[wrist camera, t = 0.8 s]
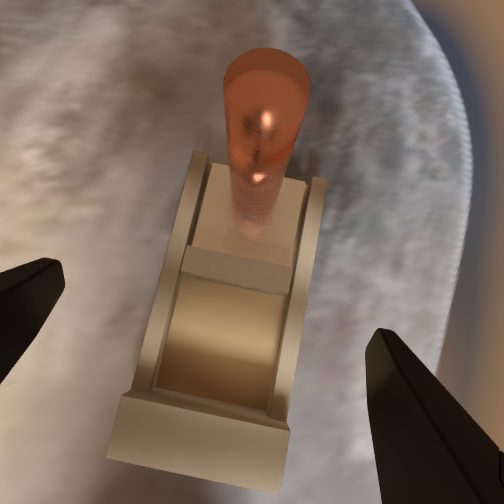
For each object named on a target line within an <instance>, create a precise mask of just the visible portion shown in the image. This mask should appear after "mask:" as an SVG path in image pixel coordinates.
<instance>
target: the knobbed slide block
mask: <svg viewBox="0 0 504 504" xmlns="http://www.w3.org/2000/svg"><path fill="white" fill-rule="evenodd" d="M223 89H224V102H225V116H226V130H227V143H228V157H229V166H228V165H223V164H218V163H214V162H213V163H212V167H211V171H210V175H209V179H208V183H207V187H206V191H205V195H204V199H203V203H202V207H201V211H200V215H199V219H198V223H197V227H196V231H195V235H194V239H193V244H192V246H188V245H187V247H186V251H185V255H184V259H183V263H182V267H181V272H183V273H184V274H185V275H187V276H188V277H193V278H198V279H203V280H207V281H212V282H217V283H222V284H227V285H231V286H236V287H241V288H246V289H250V290H255V291H260V292H265V293H269V294H274V295H279V296H284V295H286V294H288V292H289V287H290V281H291V276H292V270H293V267H290V264H291V258H292V253H293V248H294V242H295V237H296V231H297V226H298V220H299V215H300V210H301V204H302V199H303V193H304V188H305V183H306V182H305V181H300V180H295V179H290V178H286V177H284V176H285V173H286V170H287V166H288V163H289V160H290V157H291V154H292V151H293V148H294V144H295V141H296V138H297V135H298V132H299V129H300V126H301V122H302V119H303V116H304V113H305V110H306V107H307V104H308V100H309V97H310V91H311V84H310V79H309V76H308V74H307V72H306V70H305V68H304V67H303V65H302V64H301V63H300V62H299V61H298V60H297V59H296V58H294V57H293V56H291V55H290V54H288V53H286V52H283V51H281V50H277V49H272V48H259V49H254V50H250V51H248V52H245V53H243V54H242V55H240V56H239V57H237V58H236V59H235V60H234V61H233V62H232V63H231V64H230V66H229V67H228V69H227V71H226V74H225V77H224V82H223Z"/></svg>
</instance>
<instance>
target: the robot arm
mask: <svg viewBox="0 0 504 504" xmlns="http://www.w3.org/2000/svg"><path fill="white" fill-rule="evenodd" d="M64 288H65V279H64V274H63V269H62V264H61V262H60V261H59V260H56V259H51V258H40V259H38V260H35V261H32V262H29V263H26V264H23V265H21V266H18V267H15V268H12V269H9V270H6V271H4V272H1V273H0V384H1V383H2V381H3V380H4V379H5V377H6V376H7V375H8V373H9V372H10V371H11V369H12V368H13V367H14V365H15V364H16V363H17V361H18V360H19V359H20V357H21V356H22V355H23V353H24V352H25V351H26V349H27V348H28V347H29V345H30V344H31V343H32V341H33V340H34V338H35V337H36V336H37V334H38V332H39V331H40V329H41V328H42V326H43V324H44V323H45V321H46V319H47V318H48V316H49V314H50V313H51V311H52V309H53V308H54V306H55V304H56V302H57V301H58V299H59V297H60V296H61V294H62V292H63V290H64ZM365 363H366V388H367V407H368V415H369V421H370V428H371V434H372V441H373V447H374V454H375V460H376V467H377V473H378V480H379V486H380V493H381V499H382V504H504V452H502V451H500V450H499V447H498V446H497V445H496V444H495V443H494V441H492V439H491V438H490V437H489V436H488V435H487V434H486V433H485V432H484V430H483V429H482V428H481V427H480V426H479V425H478V424H477V423H476V422H475V421H474V419H473V418H472V417H471V416H470V415H469V414H468V413H467V412H466V410H465V409H464V408H463V407H462V406H461V405H460V404H459V403H458V402H457V400H456V399H454V397H453V396H452V395H451V394H450V393H449V392H448V391H447V389H446V388H445V387H444V386H443V385H442V384H441V383H440V382H439V381H438V380H437V378H436V377H435V376H434V375H433V374H432V373H431V372H430V371H429V369H428V368H427V367H426V366H425V365H424V364H423V363H422V362H421V361H420V359H419V358H418V357H417V356H416V355H415V354H414V353H413V352H412V351H411V349H410V348H409V347H408V346H407V345H406V344H405V343H404V342H403V341H402V340H401V338H400V337H399V336H398V335H397V334H396V333H395V332H394V331H392V330H389V329H384V328H378V329H377V330H376V331H375V332H374V334H373V336H372V338H371V340H370V341H369V343H368V345H367V347H366V351H365Z"/></svg>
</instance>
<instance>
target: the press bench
mask: <svg viewBox="0 0 504 504" xmlns="http://www.w3.org/2000/svg"><path fill="white" fill-rule="evenodd" d="M211 167H212V165H210V160H209V155H208V154H205V153H200V152H196V151H193V155H192V159H191V163H190V166H189V170H188V174H187V178H186V182H185V185H184V189H183V193H182V197H181V201H180V204H179V208H178V212H177V216H176V220H175V223H174V227H173V231H172V235H171V239H170V242H169V246H168V250H167V254H166V258H165V261H164V265H163V269H162V273H161V277H160V280H159V284H158V288H157V292H156V296H155V299H154V303H153V307H152V311H151V315H150V318H149V322H148V326H147V330H146V334H145V337H144V341H143V345H142V349H141V353H140V356H139V360H138V364H137V368H136V372H135V375H134V379H133V383H132V387H131V390H129V391H128V392H126V393H125V394H123V395H122V396H121V399H120V403H119V407H118V410H117V414H116V418H115V421H114V425H113V429H112V433H111V436H110V440H109V444H108V448H107V451H106V455H105V458H107V459H112V460H117V461H121V462H126V463H131V464H136V465H140V466H145V467H150V468H154V469H159V470H164V471H169V472H173V473H178V474H183V475H187V476H192V477H197V478H202V479H206V480H211V481H216V482H220V483H225V484H230V485H234V486H239V487H244V488H249V489H253V490H258V491H263V492H267V493H272V494H277V495H280V491H281V485H282V479H283V473H284V467H285V461H286V455H287V449H288V443H289V437H290V429H289V427H288V425H287V416H288V410H289V404H290V398H291V392H292V387H293V381H294V375H295V369H296V363H297V357H298V351H299V346H300V340H301V334H302V328H303V322H304V316H305V310H306V305H307V299H308V293H309V287H310V281H311V275H312V269H313V263H314V258H315V252H316V246H317V240H318V234H319V228H320V222H321V217H322V211H323V205H324V199H325V193H326V187H327V181H328V179H325V178H321V177H316V176H313V177H312V179H311V181H310V183H309V184H308V185H306V184H305V188H304V193H303V199H302V204H301V210H300V215H299V220H298V226H297V231H296V237H295V242H294V248H293V253H292V258H291V264H290V267H293V270H292V276H291V281H290V287H289V292H288V294H286V295H284V296H279V295H274V294H269V293H265V292H260V291H255V290H250V289H246V288H241V287H236V286H231V285H227V284H222V283H217V282H212V281H207V280H203V279H198V278H193V277H188V276H187V275H185V274H184V273H183V272H181V267H182V263H183V259H184V255H185V251H186V247H187V245H188V246H192V244H193V239H194V235H195V231H196V227H197V223H198V219H199V215H200V211H201V207H202V203H203V199H204V195H205V191H206V187H207V183H208V179H209V175H210V171H211Z"/></svg>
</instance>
